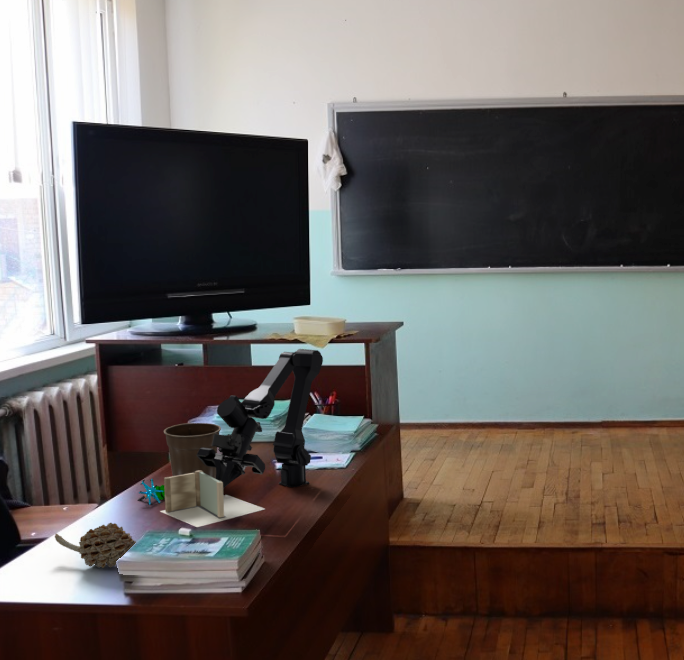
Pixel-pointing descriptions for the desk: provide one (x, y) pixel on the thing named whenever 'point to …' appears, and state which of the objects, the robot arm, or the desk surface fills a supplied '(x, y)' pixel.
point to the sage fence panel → (211, 494)
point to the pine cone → (101, 545)
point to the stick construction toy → (156, 490)
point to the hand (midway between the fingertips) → (217, 489)
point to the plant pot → (190, 447)
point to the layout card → (204, 517)
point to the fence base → (182, 491)
